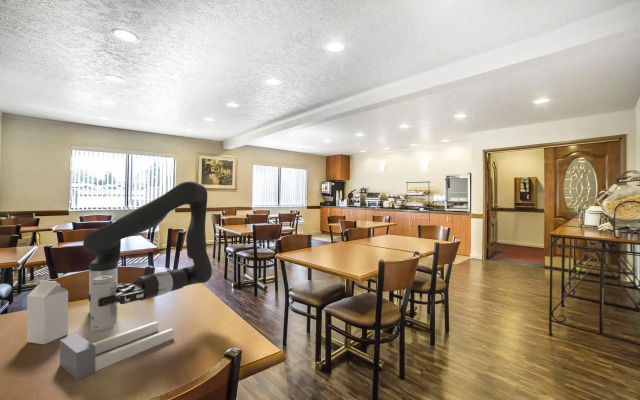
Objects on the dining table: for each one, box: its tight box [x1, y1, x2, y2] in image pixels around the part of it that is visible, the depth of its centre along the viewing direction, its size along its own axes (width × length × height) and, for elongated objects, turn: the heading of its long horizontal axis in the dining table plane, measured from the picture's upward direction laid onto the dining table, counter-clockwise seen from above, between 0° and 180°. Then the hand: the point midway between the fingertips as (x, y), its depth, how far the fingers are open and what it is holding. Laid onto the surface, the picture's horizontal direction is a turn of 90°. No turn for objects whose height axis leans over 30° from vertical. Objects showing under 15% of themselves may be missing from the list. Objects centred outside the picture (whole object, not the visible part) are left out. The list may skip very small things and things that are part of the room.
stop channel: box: [59, 320, 175, 381], centre depth 88 cm, size 12×26×7 cm, turn 147°
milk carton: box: [26, 279, 69, 345], centre depth 95 cm, size 7×7×19 cm
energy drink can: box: [90, 275, 118, 334], centre depth 84 cm, size 6×6×15 cm
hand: (93, 300), depth 82 cm, fingers closed on energy drink can, 6 cm apart
